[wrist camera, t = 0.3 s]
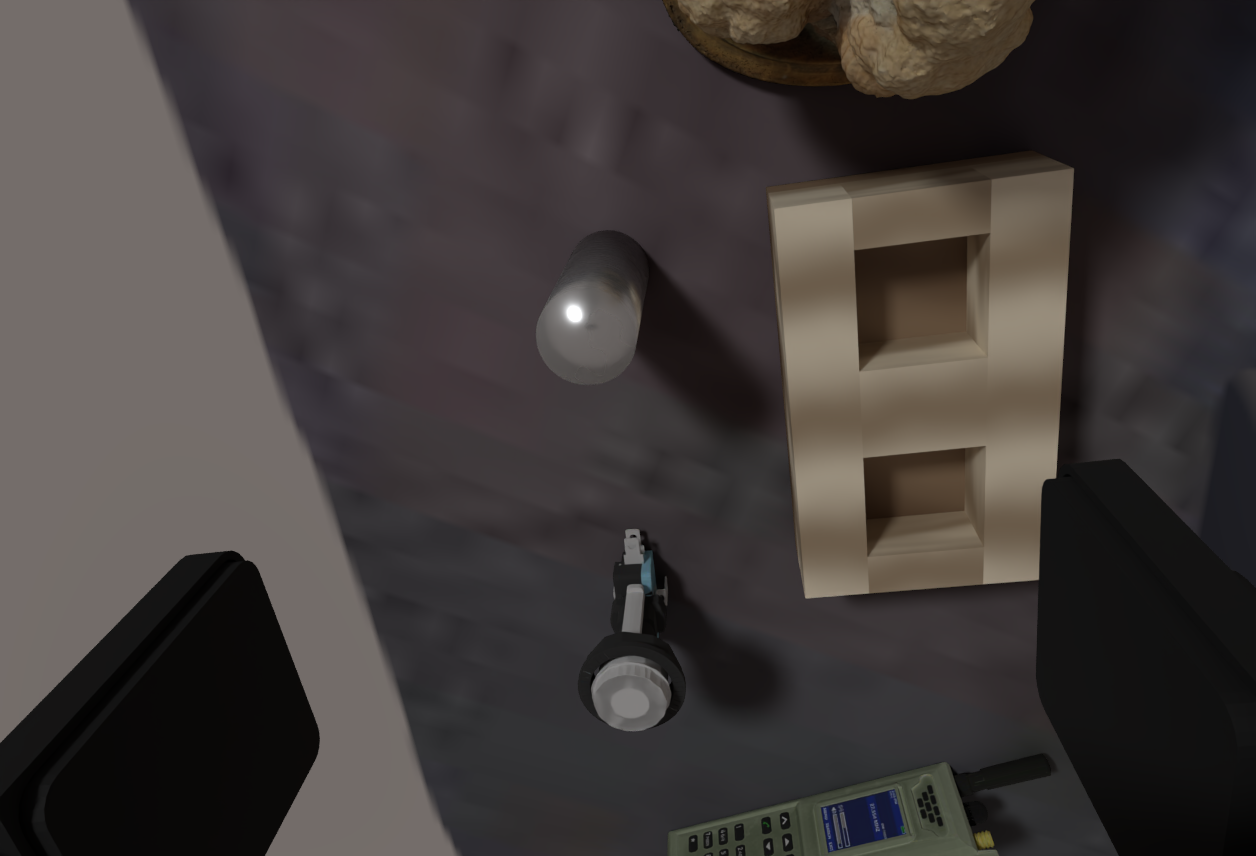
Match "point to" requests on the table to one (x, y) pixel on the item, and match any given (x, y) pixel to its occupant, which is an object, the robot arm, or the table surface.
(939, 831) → the handheld radio
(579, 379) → the pin
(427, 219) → the table surface
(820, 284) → the socket block
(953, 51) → the tan lumpy piece
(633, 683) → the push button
